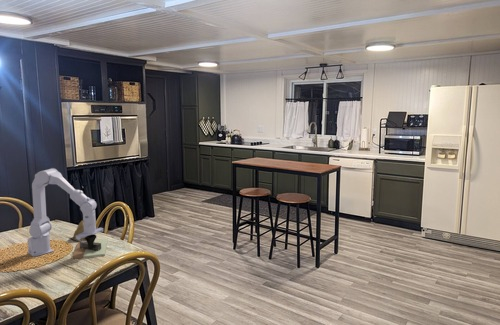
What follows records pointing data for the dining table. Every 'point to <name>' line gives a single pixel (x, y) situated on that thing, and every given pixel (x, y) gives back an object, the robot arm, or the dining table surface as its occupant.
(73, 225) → the dining table surface
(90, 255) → the door board
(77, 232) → the rock
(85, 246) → the latch bar
